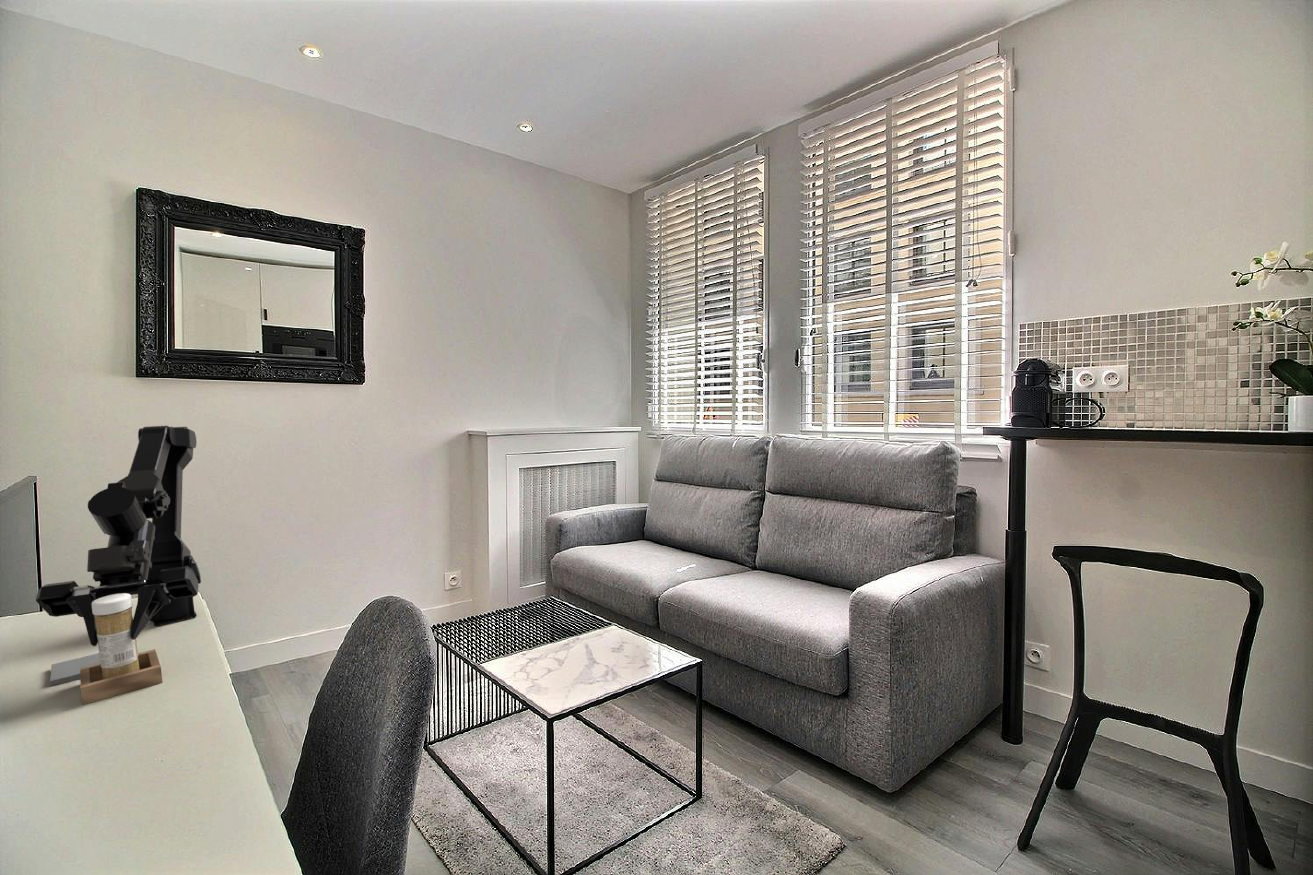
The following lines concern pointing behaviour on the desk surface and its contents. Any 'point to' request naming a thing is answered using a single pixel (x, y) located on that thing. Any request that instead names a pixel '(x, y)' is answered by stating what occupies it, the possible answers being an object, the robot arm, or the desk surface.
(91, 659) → the pad
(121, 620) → the sprinkles bottle
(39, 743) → the desk surface
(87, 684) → the collar
